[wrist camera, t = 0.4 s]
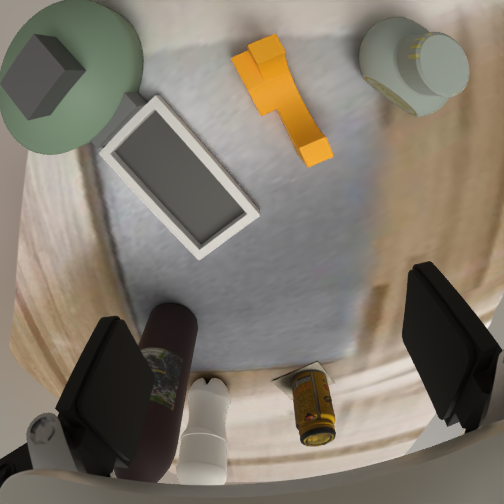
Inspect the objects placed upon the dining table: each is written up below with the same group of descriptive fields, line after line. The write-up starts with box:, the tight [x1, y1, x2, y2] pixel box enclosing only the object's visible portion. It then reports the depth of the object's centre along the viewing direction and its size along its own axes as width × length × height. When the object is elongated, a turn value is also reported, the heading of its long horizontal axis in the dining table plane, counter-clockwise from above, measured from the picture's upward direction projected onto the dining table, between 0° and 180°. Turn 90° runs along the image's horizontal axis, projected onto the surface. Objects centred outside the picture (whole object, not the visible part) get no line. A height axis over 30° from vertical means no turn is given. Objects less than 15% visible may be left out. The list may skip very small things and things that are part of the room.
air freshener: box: [359, 17, 469, 117], centre depth 23 cm, size 11×8×10 cm
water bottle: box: [176, 378, 231, 485], centre depth 39 cm, size 7×7×25 cm
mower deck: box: [0, 0, 260, 260], centre depth 27 cm, size 17×35×9 cm, turn 38°
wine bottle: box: [114, 303, 198, 483], centre depth 30 cm, size 7×7×30 cm
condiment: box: [272, 362, 336, 446], centre depth 45 cm, size 7×8×12 cm
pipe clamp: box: [231, 34, 334, 167], centre depth 27 cm, size 12×4×6 cm, turn 26°
